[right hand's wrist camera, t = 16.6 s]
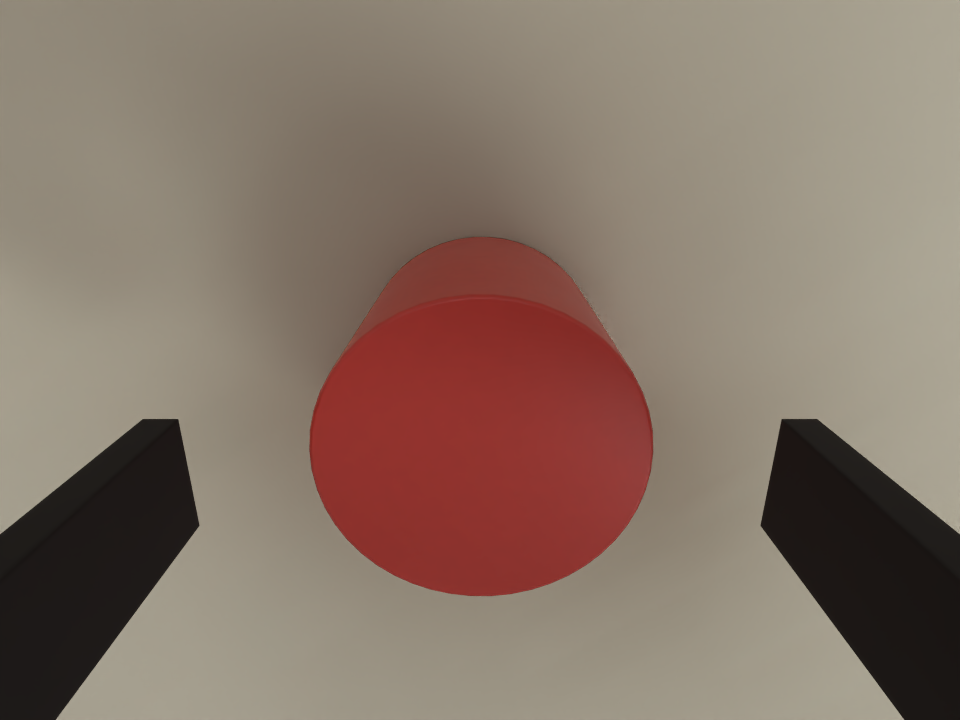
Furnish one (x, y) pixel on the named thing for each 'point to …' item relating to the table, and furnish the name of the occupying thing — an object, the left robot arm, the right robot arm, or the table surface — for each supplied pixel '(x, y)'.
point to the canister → (481, 425)
